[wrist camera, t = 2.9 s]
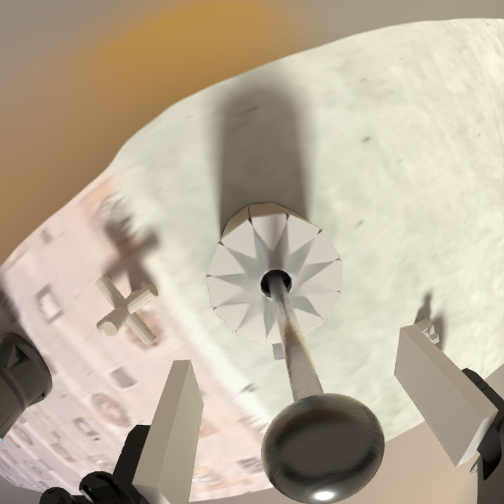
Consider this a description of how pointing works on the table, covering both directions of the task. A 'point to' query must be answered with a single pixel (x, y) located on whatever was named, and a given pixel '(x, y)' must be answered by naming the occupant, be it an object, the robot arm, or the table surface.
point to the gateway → (427, 329)
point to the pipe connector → (126, 309)
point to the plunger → (315, 423)
